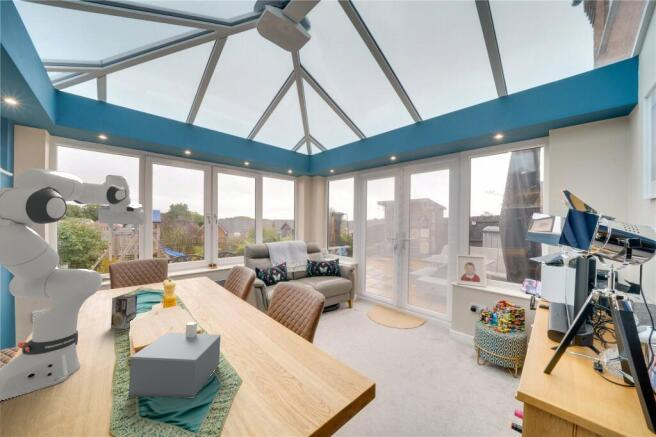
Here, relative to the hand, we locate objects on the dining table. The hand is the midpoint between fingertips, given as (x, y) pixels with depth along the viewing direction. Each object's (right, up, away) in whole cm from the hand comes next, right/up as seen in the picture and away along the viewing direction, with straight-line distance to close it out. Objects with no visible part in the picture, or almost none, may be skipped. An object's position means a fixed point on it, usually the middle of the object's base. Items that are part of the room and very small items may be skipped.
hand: (124, 231), depth 127 cm
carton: (+53, -53, -38) cm, 84 cm away
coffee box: (-3, -52, +3) cm, 52 cm away
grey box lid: (+53, -41, -38) cm, 77 cm away
